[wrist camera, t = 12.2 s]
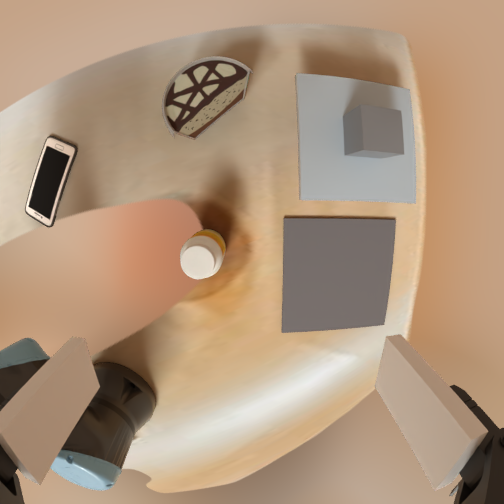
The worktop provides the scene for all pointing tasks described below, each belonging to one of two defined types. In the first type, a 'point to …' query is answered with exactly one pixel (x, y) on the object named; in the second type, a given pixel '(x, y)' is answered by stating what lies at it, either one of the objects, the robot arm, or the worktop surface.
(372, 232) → the tray
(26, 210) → the cell phone
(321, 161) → the lid
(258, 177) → the worktop surface
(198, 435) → the worktop surface
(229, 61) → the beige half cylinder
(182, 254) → the supplement bottle
